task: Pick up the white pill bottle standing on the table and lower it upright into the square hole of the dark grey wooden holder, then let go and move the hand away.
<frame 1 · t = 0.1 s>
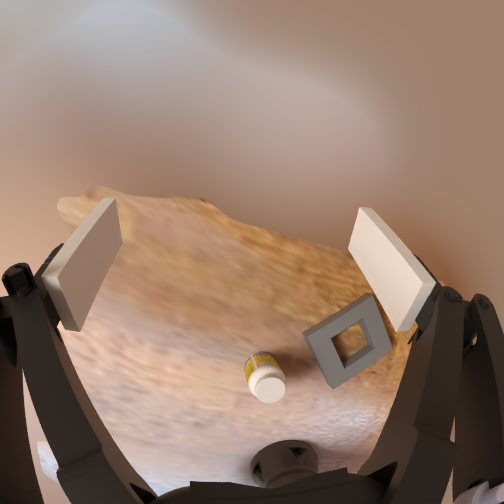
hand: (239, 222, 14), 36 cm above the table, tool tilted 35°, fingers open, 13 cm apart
pill bottle: (260, 366, 50), on the table
bottle holder: (347, 340, 52), on the table
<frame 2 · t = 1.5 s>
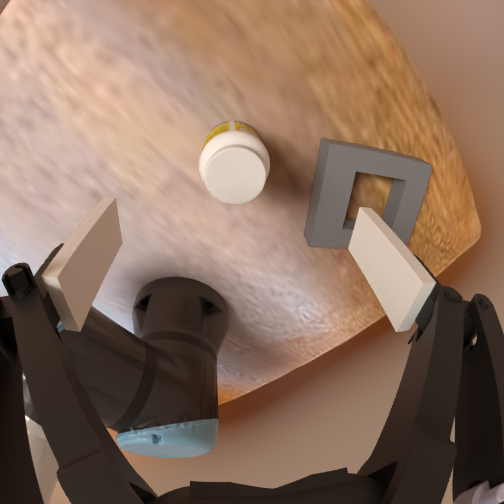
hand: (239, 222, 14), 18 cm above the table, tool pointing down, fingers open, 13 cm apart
pill bottle: (232, 146, 30), on the table
bottle holder: (365, 194, 34), on the table
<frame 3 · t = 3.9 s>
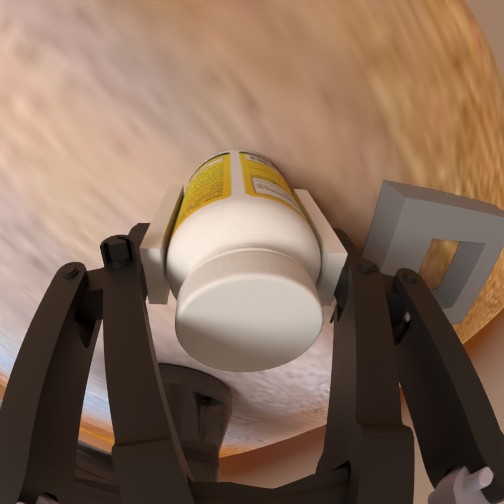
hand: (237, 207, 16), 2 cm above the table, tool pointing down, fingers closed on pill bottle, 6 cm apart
pill bottle: (236, 193, 18), on the table, touching gripper
bottle holder: (427, 258, 22), on the table
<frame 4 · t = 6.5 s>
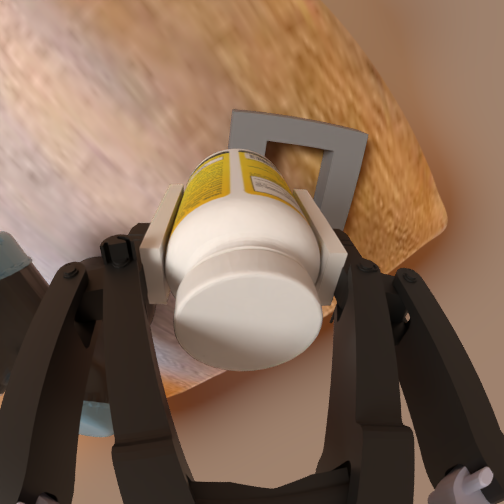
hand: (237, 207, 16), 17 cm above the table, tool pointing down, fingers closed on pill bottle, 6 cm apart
pill bottle: (235, 192, 18), point 15 cm above the table, touching gripper
bottle holder: (289, 170, 32), on the table
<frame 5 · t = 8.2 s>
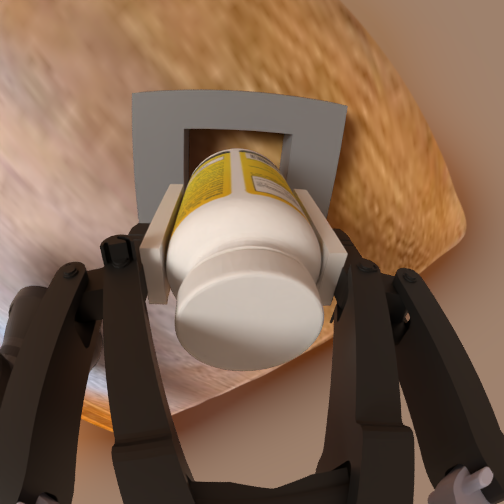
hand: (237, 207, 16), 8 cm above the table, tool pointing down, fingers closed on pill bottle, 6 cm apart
pill bottle: (236, 192, 18), point 6 cm above the table, touching gripper
bottle holder: (234, 168, 22), on the table
when the fingers open (5 cm above the table, at t = 9.3 s): pill bottle drops 3 cm, resting in bottle holder.
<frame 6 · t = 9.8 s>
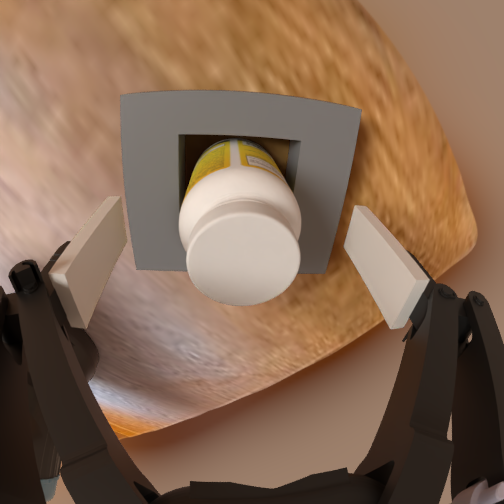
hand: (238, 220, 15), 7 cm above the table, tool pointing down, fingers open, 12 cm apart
pill bottle: (235, 176, 21), resting in bottle holder
bottle holder: (235, 177, 20), on the table
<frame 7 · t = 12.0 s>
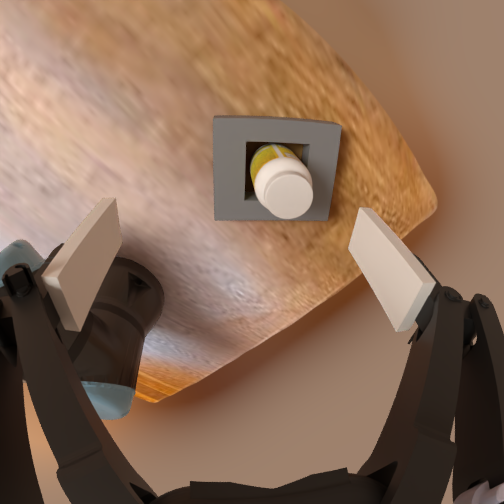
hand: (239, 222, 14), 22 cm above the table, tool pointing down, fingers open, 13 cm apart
pill bottle: (272, 164, 35), resting in bottle holder
bottle holder: (273, 165, 35), on the table
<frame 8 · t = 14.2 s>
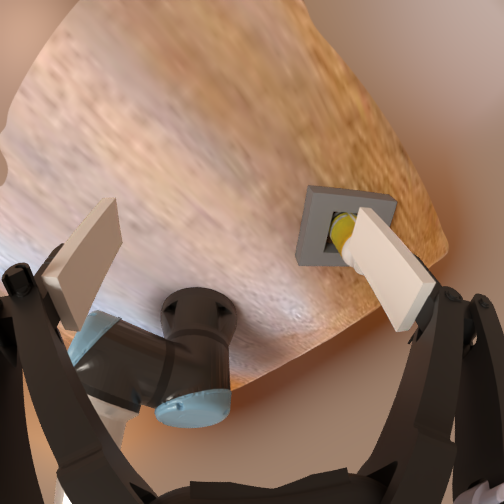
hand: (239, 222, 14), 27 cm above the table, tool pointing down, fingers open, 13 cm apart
pill bottle: (342, 224, 46), resting in bottle holder
bottle holder: (342, 224, 46), on the table
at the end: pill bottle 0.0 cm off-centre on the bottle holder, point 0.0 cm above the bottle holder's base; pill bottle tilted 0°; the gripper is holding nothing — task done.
